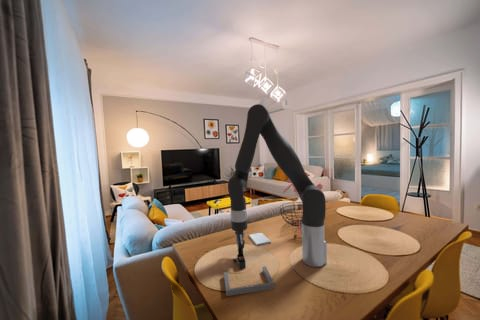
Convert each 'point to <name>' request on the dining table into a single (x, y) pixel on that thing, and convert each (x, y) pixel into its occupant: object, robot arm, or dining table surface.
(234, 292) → the slot rails
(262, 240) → the hard drive
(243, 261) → the wireless earbuds
